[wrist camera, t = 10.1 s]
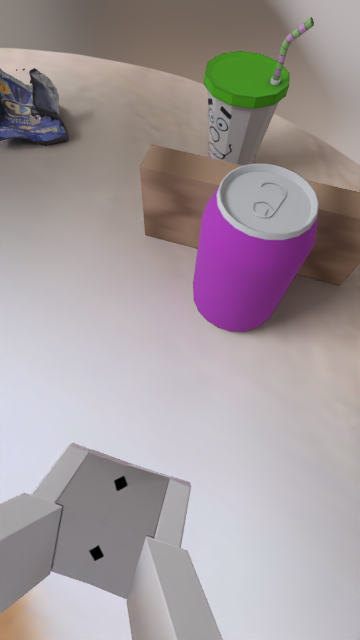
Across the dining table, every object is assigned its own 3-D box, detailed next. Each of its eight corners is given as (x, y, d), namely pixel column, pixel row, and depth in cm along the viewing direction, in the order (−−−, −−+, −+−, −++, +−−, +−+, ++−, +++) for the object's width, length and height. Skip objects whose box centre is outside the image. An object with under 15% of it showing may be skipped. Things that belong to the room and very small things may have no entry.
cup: (182, 162, 39) (192, -6, 26) (234, 142, 41) (267, -23, 28) (220, 203, 36) (253, 37, 23) (274, 179, 38) (332, 15, 25)
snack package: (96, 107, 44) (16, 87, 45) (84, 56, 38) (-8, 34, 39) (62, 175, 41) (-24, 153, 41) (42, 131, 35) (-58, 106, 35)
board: (145, 234, 34) (139, 166, 27) (154, 214, 35) (152, 144, 28) (340, 285, 32) (390, 226, 25) (342, 261, 33) (390, 199, 26)
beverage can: (257, 350, 28) (313, 265, 18) (177, 314, 29) (184, 215, 19) (283, 284, 31) (344, 179, 21) (211, 255, 33) (233, 142, 22)
